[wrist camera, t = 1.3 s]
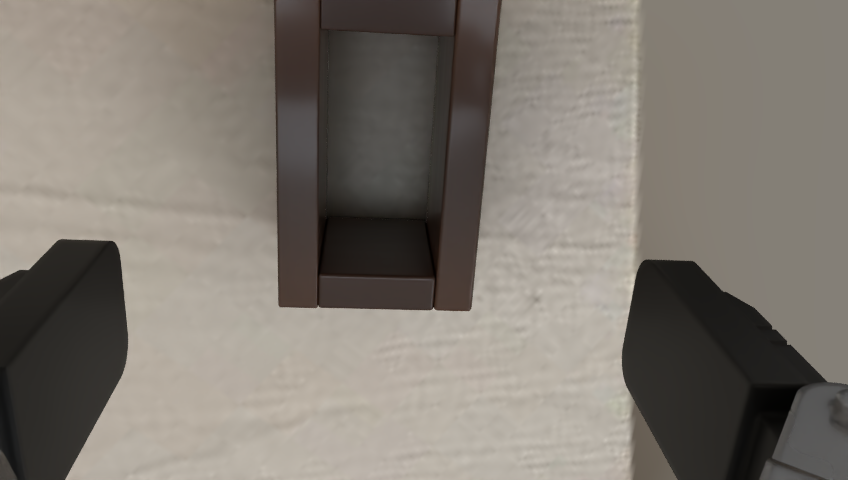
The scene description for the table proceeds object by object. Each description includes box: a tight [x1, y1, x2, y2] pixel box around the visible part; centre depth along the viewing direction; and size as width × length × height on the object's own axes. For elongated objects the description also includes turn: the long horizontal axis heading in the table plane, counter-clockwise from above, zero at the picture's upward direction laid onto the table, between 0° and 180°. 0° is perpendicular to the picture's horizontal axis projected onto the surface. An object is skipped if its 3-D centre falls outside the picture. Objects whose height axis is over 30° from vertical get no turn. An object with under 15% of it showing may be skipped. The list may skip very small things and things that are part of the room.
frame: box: [274, 0, 502, 311], centre depth 20 cm, size 8×5×4 cm, turn 176°
